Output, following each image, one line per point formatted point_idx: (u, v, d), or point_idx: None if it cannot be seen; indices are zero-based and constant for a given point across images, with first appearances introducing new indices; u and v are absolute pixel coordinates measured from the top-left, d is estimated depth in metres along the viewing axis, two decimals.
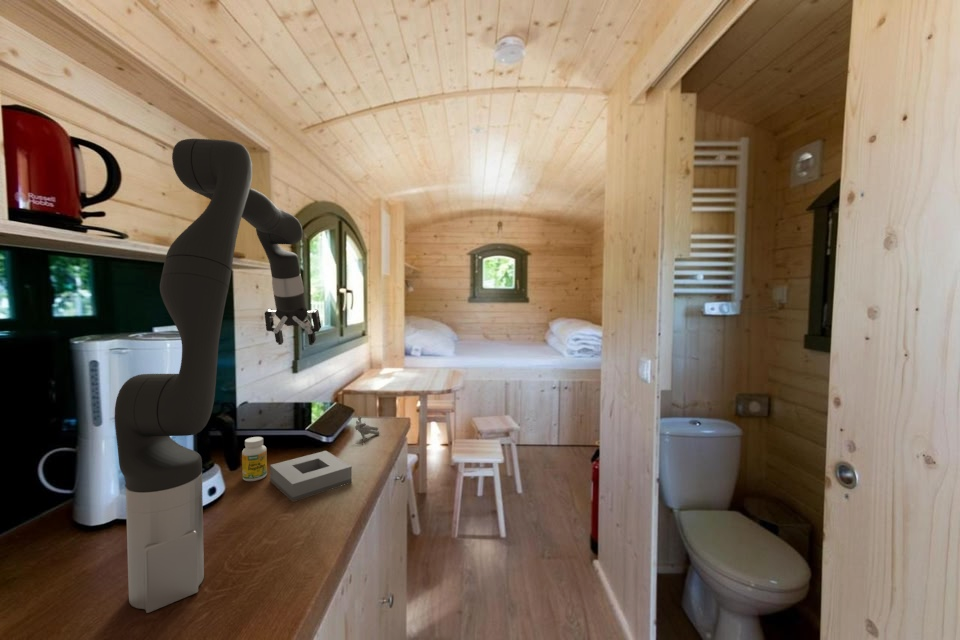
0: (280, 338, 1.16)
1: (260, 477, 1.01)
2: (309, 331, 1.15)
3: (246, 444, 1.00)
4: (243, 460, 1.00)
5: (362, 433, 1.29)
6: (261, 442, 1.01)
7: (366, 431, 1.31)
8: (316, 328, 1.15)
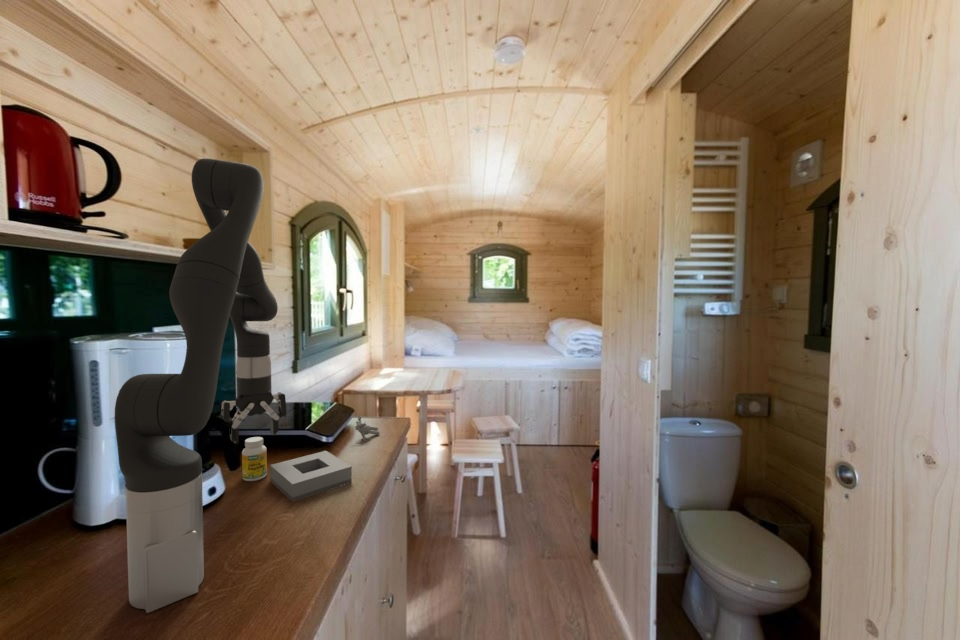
0: (238, 434, 0.98)
1: (260, 477, 1.01)
2: (275, 417, 1.04)
3: (246, 444, 1.00)
4: (243, 460, 1.00)
5: (362, 433, 1.29)
6: (261, 442, 1.01)
7: (366, 431, 1.31)
8: (284, 412, 1.05)
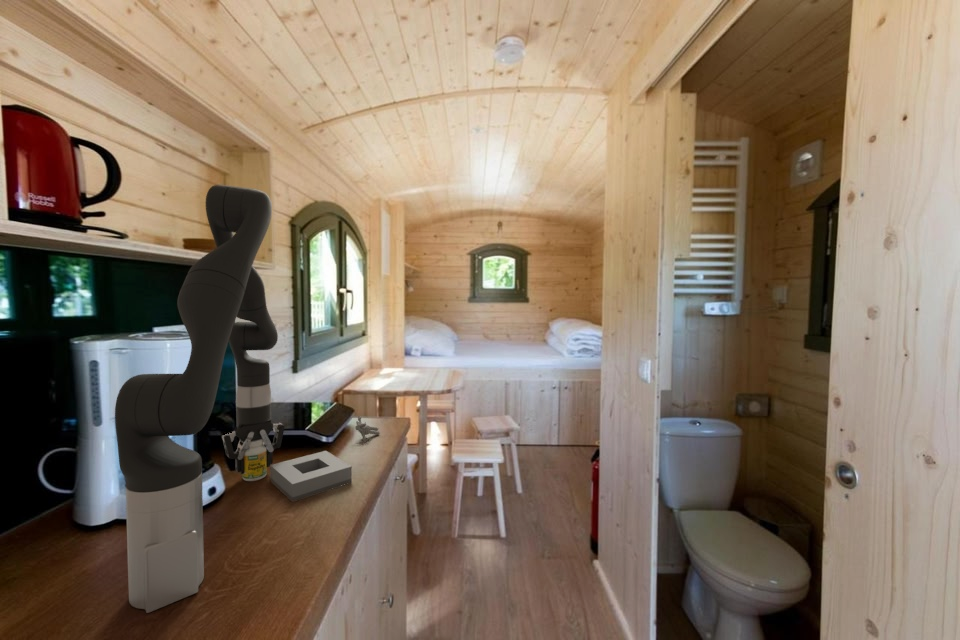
0: (243, 465, 0.99)
1: (260, 477, 1.01)
2: (270, 449, 1.03)
3: None
4: None
5: (362, 433, 1.29)
6: (261, 442, 1.01)
7: (366, 431, 1.31)
8: (278, 443, 1.05)
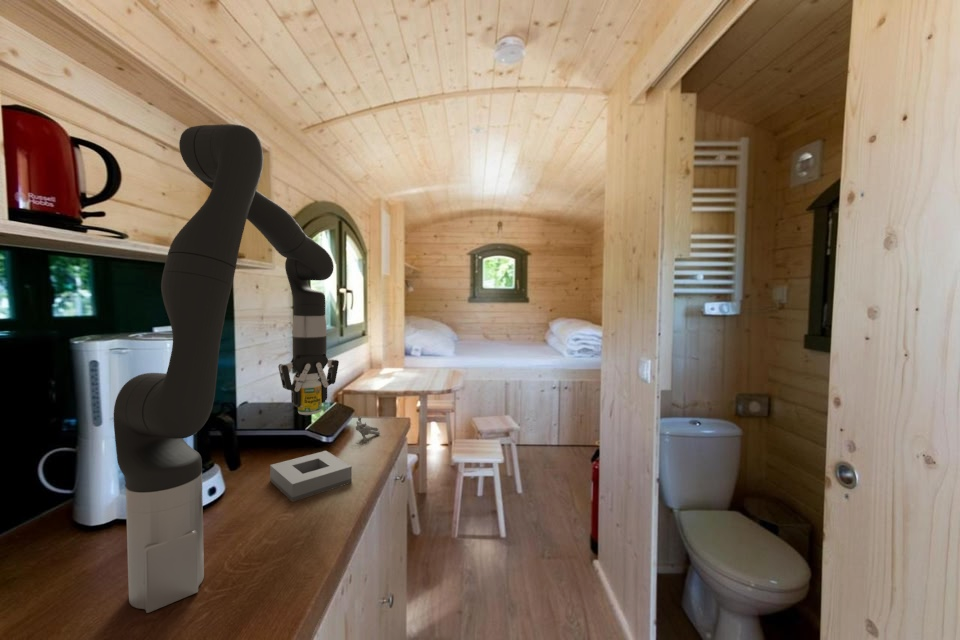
0: None
1: (316, 411, 0.98)
2: (325, 384, 1.00)
3: None
4: None
5: (363, 433, 1.29)
6: (317, 375, 0.98)
7: (366, 431, 1.30)
8: (333, 379, 1.02)
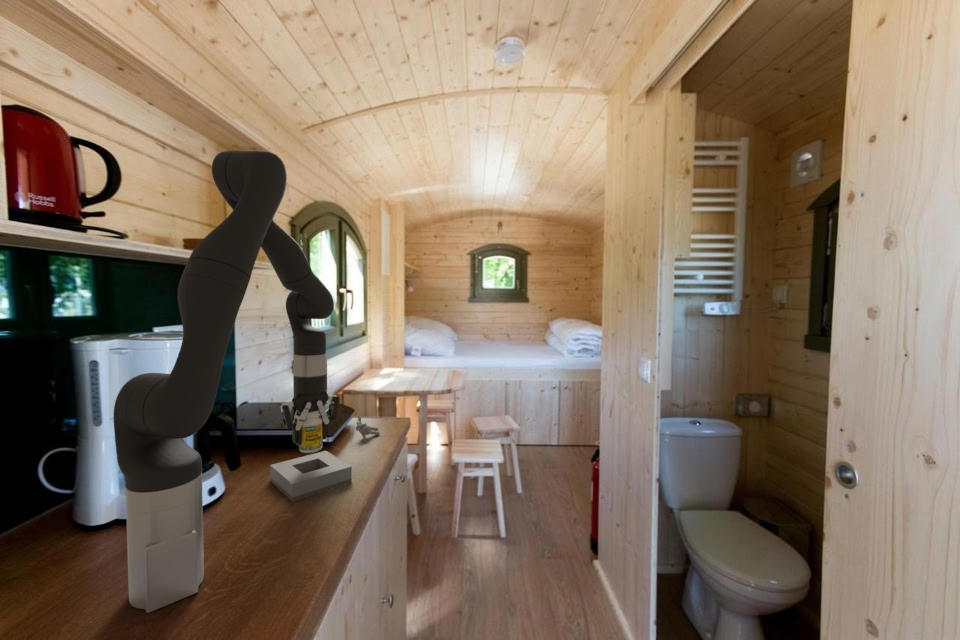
0: None
1: (317, 449, 0.98)
2: (325, 421, 1.01)
3: None
4: None
5: (363, 434, 1.29)
6: (317, 413, 0.99)
7: (367, 432, 1.30)
8: (334, 416, 1.02)
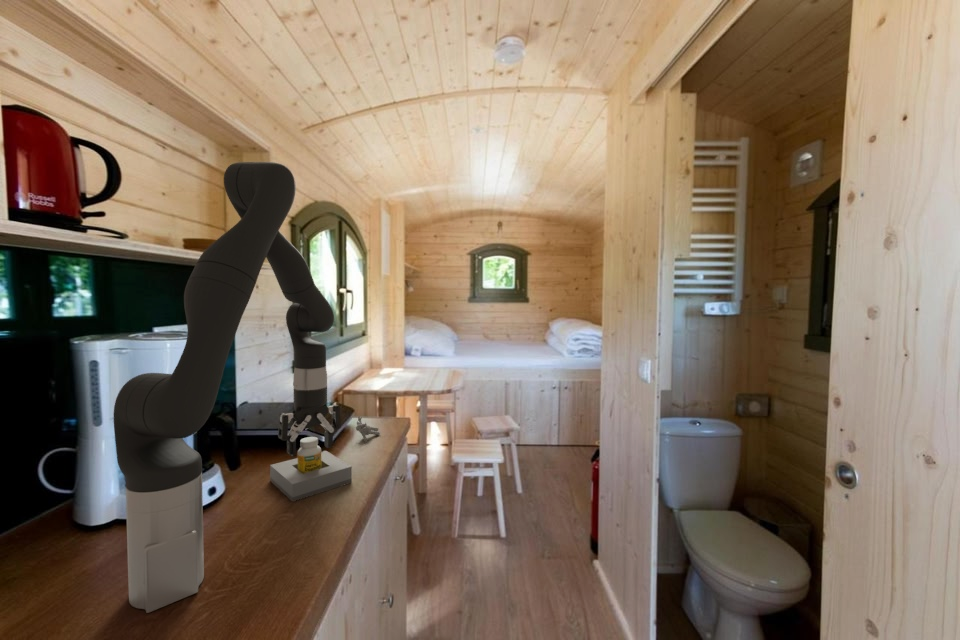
0: None
1: None
2: (330, 430, 1.02)
3: (302, 444, 0.97)
4: (299, 461, 0.97)
5: (363, 434, 1.29)
6: (317, 442, 0.99)
7: (367, 432, 1.30)
8: (338, 424, 1.03)
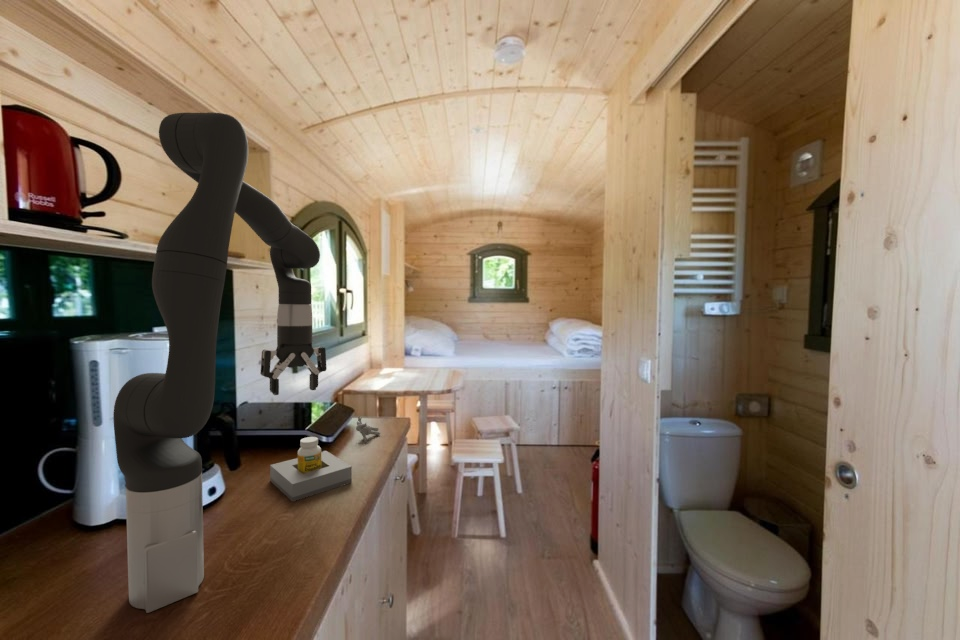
0: None
1: None
2: (315, 371, 0.99)
3: (302, 444, 0.97)
4: (299, 461, 0.97)
5: (363, 434, 1.29)
6: (317, 442, 0.99)
7: (367, 432, 1.30)
8: (324, 367, 1.00)
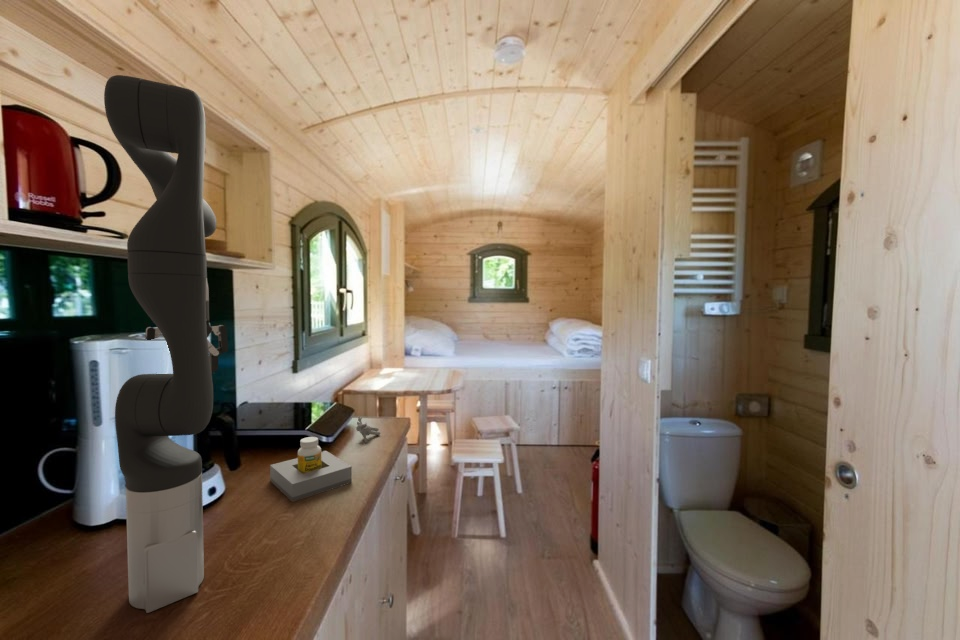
0: None
1: None
2: (214, 352, 0.89)
3: (302, 444, 0.97)
4: (299, 461, 0.97)
5: (363, 434, 1.29)
6: (317, 442, 0.99)
7: (367, 432, 1.30)
8: (225, 347, 0.91)
